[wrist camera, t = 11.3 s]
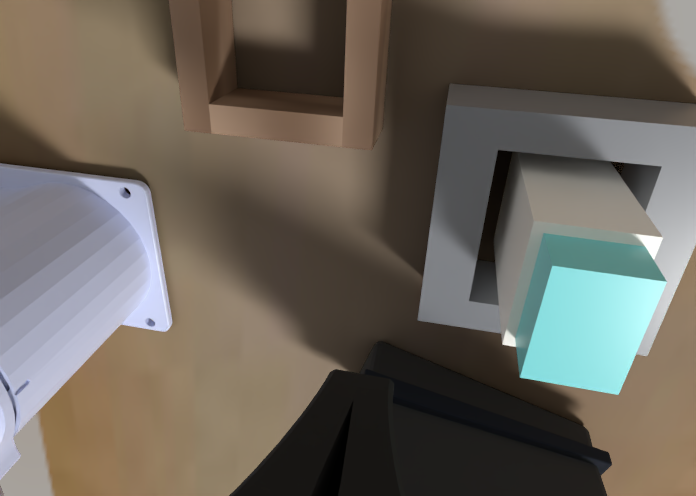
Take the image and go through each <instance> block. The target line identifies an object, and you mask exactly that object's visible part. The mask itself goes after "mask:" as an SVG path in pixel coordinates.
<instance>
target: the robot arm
mask: <svg viewBox="0 0 696 496" xmlns="http://www.w3.org/2000/svg"><path fill="white" fill-rule="evenodd" d="M125 188H127V189H128V190H129V191H130V193H131V195H130V194H128V193H127V192H126V191H125ZM151 319H152V320H153V321H152V320H151ZM120 325H127V326H133V327H139V328H145V329H150V330H156V331H167V330H168V329H169V328H170V327H171V325H172V316H171V310H170V304H169V298H168V292H167V286H166V280H165V275H164V269H163V263H162V257H161V251H160V245H159V239H158V233H157V227H156V221H155V215H154V209H153V203H152V197H151V192H150V189H149V187H148V186H147V185H146V184H145V183H144V182H142V181H139V180H132V179H123V178H115V177H107V176H99V175H91V174H83V173H75V172H67V171H59V170H51V169H43V168H34V167H26V166H18V165H10V164H2V163H0V479H1V478H2V477H3V476H4V475H5V474H6V473H7V472H8V470H9V469H10V468H11V467H12V466H13V465H14V464H15V463H16V462H17V460H18V459H19V458H20V457H21V454H20V452H19V451H18V449H17V447H16V445H15V442H14V438H13V437H14V436H15V435H16V434H17V433H18V432H19V431H20V430H21V429H22V428H23V427H24V426H25V425H26V423H28V422H29V420H30V419H31V418H32V417H33V416H34V415H35V414H36V413H37V412H38V411H39V410H40V409H41V408H42V407H43V406H44V405H45V404H46V403H47V402H48V401H49V399H50V398H51V397H52V396H53V395H54V394H55V393H56V392H57V391H58V390H59V389H60V388H61V387H62V386H63V385H64V384H65V383H66V382H67V381H68V379H69V378H70V377H71V376H72V375H73V374H74V373H75V372H76V371H77V370H78V369H79V368H80V367H81V366H82V365H83V364H84V363H85V362H86V361H87V359H88V358H89V357H90V356H91V355H92V354H93V353H94V352H95V351H96V350H97V349H98V348H99V347H100V346H101V345H102V344H103V343H104V342H105V341H106V340H107V338H108V337H109V336H110V335H111V334H112V333H113V332H114V331H115V330H116V329H117V328H118V327H119V326H120ZM393 391H394V383H393V382H392V381H391V380H390V379H388V378H382V377H376V376H371V375H365V374H359V373H354V372H348V371H342V370H337V369H335V370H333V371H332V372H330V373H329V375H328V377H327V379H326V380H325V382H324V383H323V385H322V386H321V388H320V390H319V391H318V392H317V394H316V395H315V397H314V398H313V400H312V401H311V402H310V404H309V405H308V407H307V408H306V409H305V411H304V412H303V413H302V415H301V416H300V417H299V418H298V420H297V421H296V422H295V423H294V425H293V426H292V427H291V428H290V430H289V431H288V432H287V433H286V435H285V436H284V437H283V438H282V440H281V441H280V442H279V443H278V444H277V445H276V447H275V448H274V449H273V450H272V451H271V452H270V453H269V454H268V455H267V457H266V458H265V459H264V460H263V461H262V462H261V463H260V464H259V465H258V467H257V468H256V469H255V470H254V471H253V472H252V473H251V474H250V475H249V476H248V477H247V478H246V479H245V480H244V481H243V482H242V483H241V485H240V486H239V487H238V488H237V489H236V490H235V491H234V492H233V493H231V494H230V495H229V496H405V492H404V487H403V482H402V477H401V472H400V466H399V460H398V454H397V448H396V441H395V433H394V422H393ZM0 496H4V494H3V491H2V489H1V486H0Z"/></svg>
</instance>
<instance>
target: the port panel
mask: <svg viewBox="0 0 696 496" xmlns="http://www.w3.org/2000/svg"><path fill="white" fill-rule="evenodd" d="M498 150H504V151H514V152H524V153H534V154H543V155H553V156H563V157H573V158H583V159H593V160H603V161H613V162H622V163H624V166H623V169H622V172H621V178H622V179H623V181H624V182H625V183H626V185H627V186H628V188H629V189H630V191H631V192H632V193H633V195H634V196H635V198H636V199H637V201H638V202H639V204H640V205H641V206H642V208H643V209H644V211H645V212H646V214H647V215H648V217H649V218H650V219H651V221H652V222H653V224H654V225H655V227H656V228H657V229H658V231H659V232H660V234H661V235H662V237H663V239H662V241H661V244H660V246H659V249H658V251H657V254H656V256H655V259H654V261H655V263H656V264H657V266H658V268H659V269H660V271H661V273H662V274H663V276H664V278H665V279H666V281H667V283H666V286H665V288H664V290H663V293H662V295H661V297H660V300H659V302H658V304H657V307H656V309H655V311H654V313H653V316H652V318H651V320H650V323H649V325H648V327H647V330H646V332H645V334H644V337H643V339H642V341H641V344H640V346H639V348H638V351H637V353H636V355H643V356H647V355H648V353H649V351H650V348H651V346H652V344H653V342H654V339H655V337H656V335H657V332H658V330H659V328H660V325H661V323H662V321H663V319H664V316H665V314H666V312H667V309H668V307H669V305H670V302H671V300H672V298H673V296H674V293H675V291H676V289H677V286H678V284H679V282H680V279H681V277H682V275H683V273H684V270H685V268H686V266H687V263H688V261H689V259H690V256H691V254H692V252H693V250H694V247H695V245H696V104H692V103H680V102H667V101H655V100H643V99H631V98H619V97H607V96H595V95H583V94H571V93H559V92H546V91H534V90H522V89H510V88H498V87H486V86H474V85H462V84H450V85H449V92H448V98H447V104H446V112H445V119H444V127H443V134H442V142H441V149H440V157H439V164H438V172H437V179H436V187H435V194H434V202H433V209H432V216H431V224H430V231H429V239H428V246H427V254H426V261H425V269H424V276H423V284H422V291H421V299H420V306H419V314H418V321H424V322H431V323H437V324H444V325H450V326H456V327H463V328H469V329H476V330H482V331H489V332H495V333H501V324H500V312H499V300H498V289H497V277H496V265H495V262H488V261H481V260H477V256H478V251H479V246H480V241H481V236H482V230H483V225H484V220H485V215H486V210H487V204H488V199H489V194H490V189H491V184H492V178H493V173H494V168H495V163H496V158H497V152H498Z"/></svg>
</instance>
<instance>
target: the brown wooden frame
mask: <svg viewBox="0 0 696 496" xmlns="http://www.w3.org/2000/svg"><path fill="white" fill-rule="evenodd" d="M169 8H170V16H171V24H172V33H173V41H174V49H175V57H176V65H177V73H178V81H179V89H180V97H181V105H182V114H183V122H184V130H185V131H194V132H203V133H213V134H222V135H232V136H241V137H251V138H260V139H270V140H279V141H289V142H298V143H308V144H317V145H327V146H336V147H346V148H355V149H364V150H372V149H373V147H374V145H375V143H376V141H377V139H378V137H379V135H380V133H381V131H382V129H383V120H384V106H385V92H386V79H387V65H388V52H389V38H390V25H391V11H392V0H347V14H346V44H345V74H344V98H343V97H332V96H321V95H310V94H299V93H288V92H276V91H265V90H254V89H243V88H238V87H237V73H236V58H235V43H234V28H233V14H232V0H169Z"/></svg>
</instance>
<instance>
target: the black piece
mask: <svg viewBox="0 0 696 496" xmlns="http://www.w3.org/2000/svg"><path fill="white" fill-rule="evenodd" d="M360 374H365V375H371V376H376V377H382V378H388V379H390V380H391V381H392V382H393V383H394V391H393V422H394V433H395V441H396V448H397V454H398V460H399V466H400V472H401V477H402V482H403V487H404V492H405V496H607V494H606V491H605V488H604V485H603V482H602V479H601V475H602V474H603V473H604V472H605V471H606V470H607V469H608V468H609V467H610V466H611V465H612V462H611V459H610V455H609V453H608V452H606V451H603V450H600V449H597V448H594V447H592V443H591V439H590V435H589V432H588V430H587V429H586V428H585V427H584V426H582V425H579V424H577V423H575V422H572V421H570V420H567V419H565V418H563V417H560V416H558V415H556V414H553V413H551V412H548V411H546V410H544V409H541V408H539V407H536V406H534V405H532V404H529V403H527V402H525V401H522V400H520V399H517V398H515V397H513V396H510V395H508V394H506V393H503V392H501V391H498V390H496V389H494V388H491V387H489V386H486V385H484V384H482V383H479V382H477V381H475V380H472V379H470V378H467V377H465V376H463V375H460V374H458V373H456V372H453V371H451V370H448V369H446V368H444V367H441V366H439V365H436V364H434V363H432V362H429V361H427V360H425V359H422V358H420V357H417V356H415V355H413V354H410V353H408V352H406V351H403V350H401V349H398V348H396V347H394V346H391V345H389V344H386V343H384V342H378V343H376V344H375V345H374V347H373V349H372V350H371V352H370V354H369V356H368V358H367V360H366V362H365V364H364V366H363V368H362V370H361V372H360Z"/></svg>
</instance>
